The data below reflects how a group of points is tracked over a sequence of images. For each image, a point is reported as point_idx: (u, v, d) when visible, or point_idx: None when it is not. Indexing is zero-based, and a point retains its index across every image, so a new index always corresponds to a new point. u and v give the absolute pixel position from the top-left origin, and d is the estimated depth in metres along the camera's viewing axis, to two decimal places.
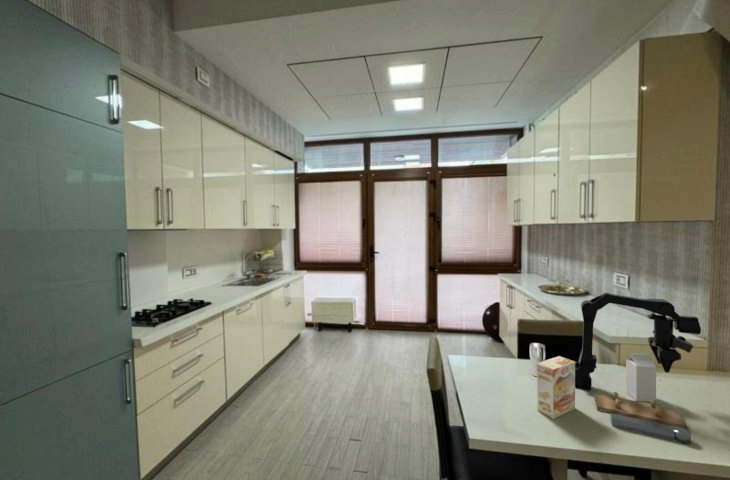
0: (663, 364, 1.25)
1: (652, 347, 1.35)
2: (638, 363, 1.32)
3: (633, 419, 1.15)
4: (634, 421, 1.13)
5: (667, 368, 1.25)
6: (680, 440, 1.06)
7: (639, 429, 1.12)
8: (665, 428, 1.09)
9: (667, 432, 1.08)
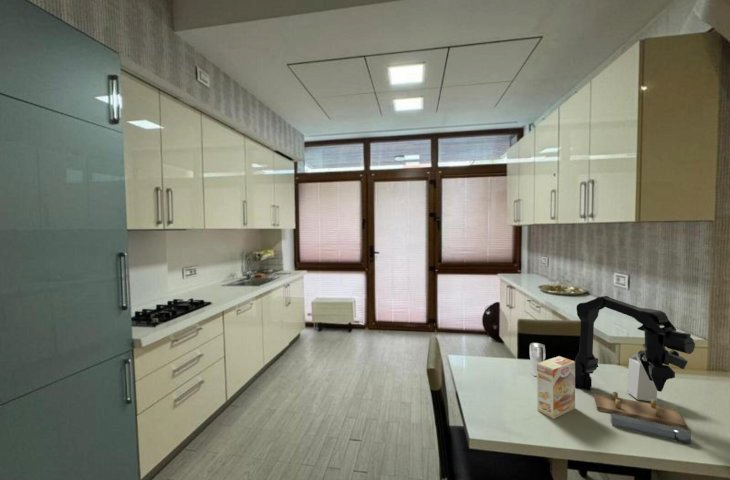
0: (655, 382, 1.13)
1: (643, 362, 1.23)
2: None
3: (633, 419, 1.15)
4: (634, 421, 1.13)
5: (660, 387, 1.13)
6: (680, 440, 1.06)
7: (639, 429, 1.12)
8: (665, 428, 1.09)
9: (667, 432, 1.08)
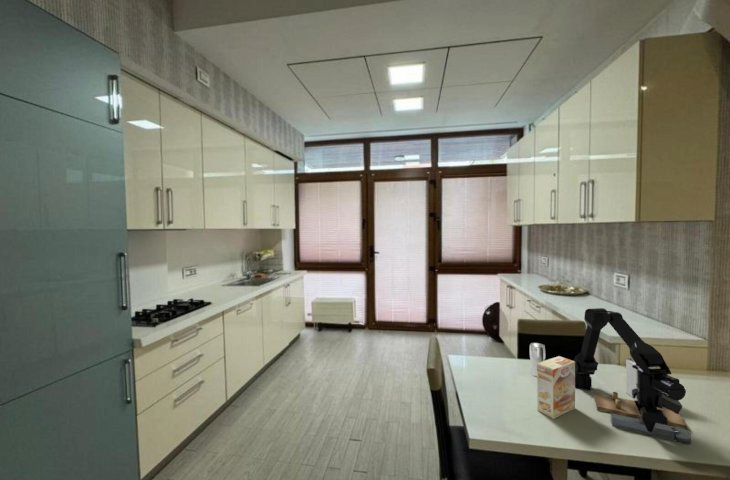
0: (645, 422, 1.10)
1: (638, 405, 1.15)
2: None
3: (633, 419, 1.15)
4: (634, 421, 1.13)
5: (650, 427, 1.10)
6: (680, 440, 1.06)
7: (639, 429, 1.12)
8: (665, 428, 1.09)
9: (667, 432, 1.08)
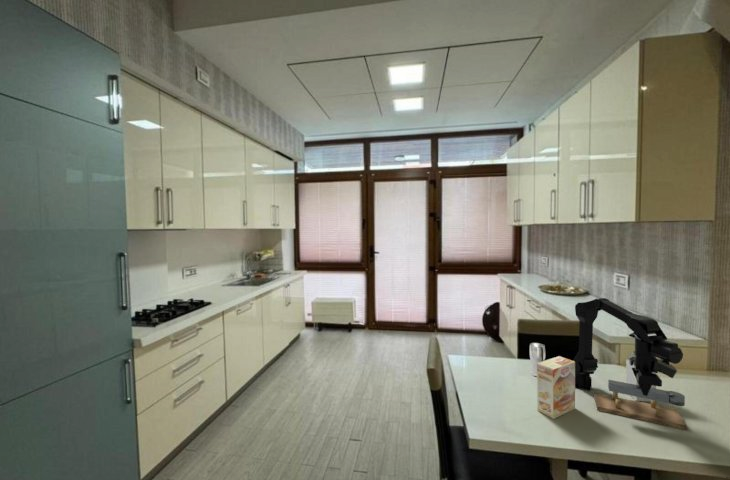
0: (641, 386, 1.16)
1: (634, 372, 1.21)
2: None
3: (630, 384, 1.20)
4: (631, 386, 1.19)
5: (645, 391, 1.15)
6: (674, 402, 1.12)
7: (635, 393, 1.18)
8: (660, 391, 1.15)
9: (662, 396, 1.14)
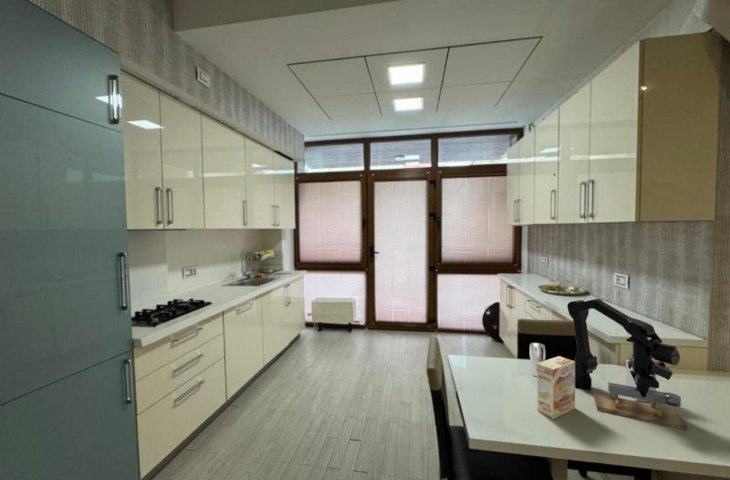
0: (639, 388, 1.21)
1: (633, 374, 1.26)
2: None
3: (629, 387, 1.26)
4: (629, 388, 1.25)
5: (643, 393, 1.21)
6: (671, 403, 1.17)
7: (634, 395, 1.23)
8: (657, 393, 1.21)
9: (660, 397, 1.19)
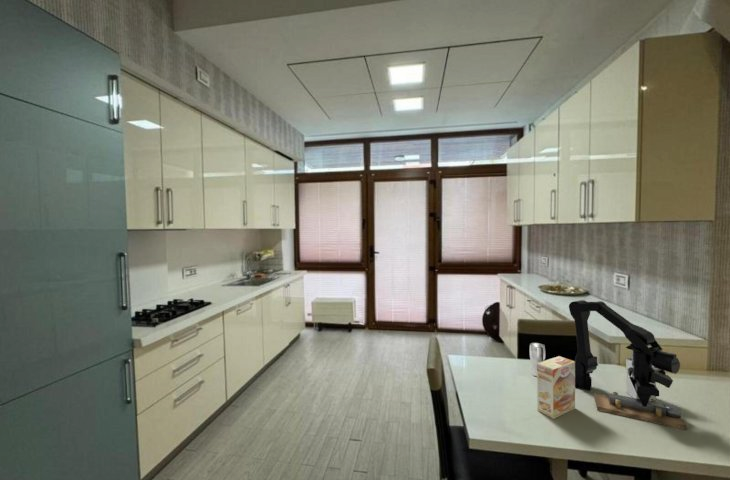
0: (640, 398, 1.20)
1: (632, 380, 1.28)
2: None
3: (629, 398, 1.26)
4: (630, 399, 1.25)
5: (644, 402, 1.20)
6: (671, 415, 1.18)
7: (634, 406, 1.23)
8: (657, 404, 1.21)
9: None
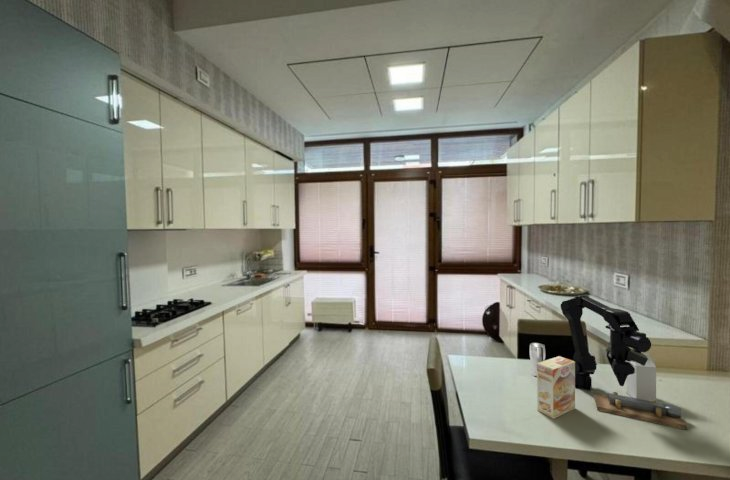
0: (618, 377, 1.22)
1: (609, 359, 1.31)
2: (638, 363, 1.32)
3: (629, 398, 1.26)
4: (630, 399, 1.25)
5: (622, 382, 1.21)
6: (671, 415, 1.18)
7: (634, 406, 1.23)
8: (657, 404, 1.21)
9: None
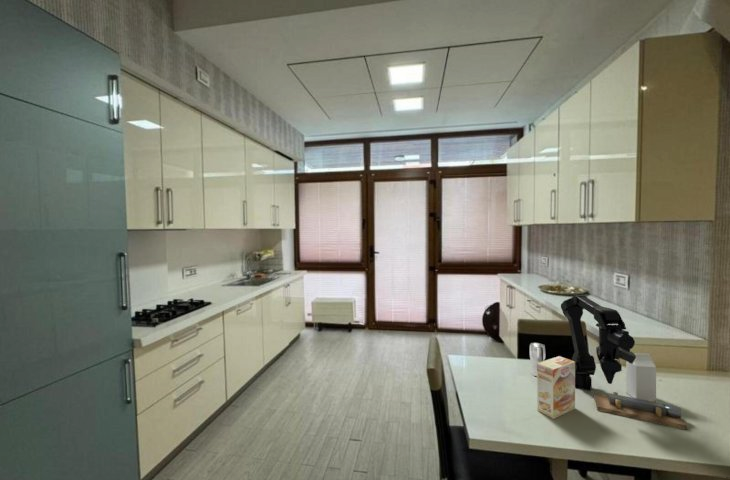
0: (606, 375, 1.23)
1: (599, 357, 1.33)
2: (638, 363, 1.32)
3: (629, 398, 1.26)
4: (630, 399, 1.25)
5: (610, 379, 1.23)
6: (671, 415, 1.18)
7: (634, 406, 1.23)
8: (657, 404, 1.21)
9: None
